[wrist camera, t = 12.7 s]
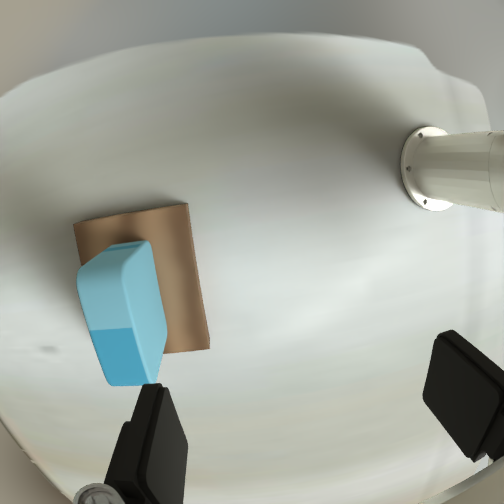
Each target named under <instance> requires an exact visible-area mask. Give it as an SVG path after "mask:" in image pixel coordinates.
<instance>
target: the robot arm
mask: <svg viewBox="0 0 504 504" xmlns="http://www.w3.org/2000/svg"><path fill="white" fill-rule="evenodd" d="M401 174H402V179H403V182H404V185H405V188H406V190H407V192H408V194H409V195H410V197H411V198H412V200H413V201H414V202H415V203H416V204H418V205H419V206H420V207H422V208H424V209H427V210H431V211H441V210H444V209H446V208H448V207H449V206H451V205H452V204H458V205H464V206H469V207H475V208H480V209H485V210H490V211H495V212H500V213H504V130H501V131H486V132H473V133H462V134H451V135H449V134H448V133H447V132H445V131H444V130H442V129H440V128H438V127H433V126H428V127H422V128H419V129H417V130H415V131H414V132H413V133H412V134H411V135H410V136H409V137H408V139H407V140H406V142H405V144H404V147H403V150H402V154H401ZM423 400H424V402H425V404H426V405H427V406H428V407H429V409H430V410H431V411H432V413H433V414H434V415H435V416H436V418H437V419H438V420H439V422H440V423H441V424H442V426H443V427H444V428H445V430H446V431H447V432H448V433H449V435H450V436H451V437H452V439H453V440H454V441H455V443H456V444H457V445H458V447H459V448H460V449H461V451H462V452H463V453H464V455H465V456H466V457H468V458H471V460H472V461H473V462H474V463H475V462H476V461H478V460H480V459H481V458H483V457H484V456H485V455H486V453H487V455H488V456H489V460H488V467H486V468H484V469H483V470H481V471H479V472H478V473H476V474H475V475H473V476H471V477H469V478H468V479H466V480H464V481H462V482H461V483H459V484H457V485H455V486H453V487H451V488H449V489H447V490H445V491H443V492H441V493H439V494H437V495H435V496H433V497H431V498H429V499H427V500H425V501H422V502H420V503H418V504H504V371H503V370H502V369H501V368H500V367H499V366H497V365H496V364H495V363H494V362H493V361H491V360H490V359H489V358H488V357H487V356H485V355H484V354H483V353H482V352H481V351H479V350H478V349H477V348H476V347H474V346H473V345H472V344H471V343H469V342H468V341H467V340H466V339H464V338H463V337H462V336H461V335H459V334H458V333H457V332H456V331H454V330H448V331H445V332H442V333H440V334H438V336H437V338H436V339H435V340H434V344H433V350H432V355H431V360H430V364H429V369H428V373H427V378H426V382H425V386H424V390H423ZM187 453H188V443H187V439H186V436H185V434H184V431H183V429H182V426H181V423H180V421H179V418H178V415H177V412H176V410H175V407H174V404H173V401H172V398H171V395H170V392H169V390H168V388H167V387H163V386H162V384H161V383H152V384H143V386H142V389H141V391H140V394H139V397H138V400H137V403H136V406H135V409H134V412H133V415H132V418H131V421H126V422H125V423H124V424H123V426H122V429H121V432H120V434H119V437H118V440H117V443H116V446H115V449H114V452H113V455H112V459H111V462H110V465H109V468H108V471H107V474H106V478H105V481H104V484H102V483H93V484H89V485H86V486H84V487H83V488H81V489H80V490H79V491H78V492H77V493H76V495H75V497H74V499H73V504H183V497H184V486H185V474H186V464H187Z"/></svg>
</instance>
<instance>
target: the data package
mask: <svg viewBox="0 0 504 504" xmlns="http://www.w3.org/2000/svg"><path fill="white" fill-rule="evenodd" d="M76 285H77V291H78V295H79V299H80V302H81V306H82V310H83V313H84V316H85V320H86V323H87V326H88V329H89V333H90V336H91V339H92V342H93V345H94V348H95V351H96V353H97V356H98V359H99V362H100V365H101V367H102V370H103V373H104V375H105V378H106V380H107V382H108V383H109V384H110V385H111V386H139V385H143V384H152V383H156V380H157V376H158V372H159V367H160V363H161V359H162V355H163V351H164V347H165V343H166V339H167V324H166V319H165V314H164V310H163V305H162V300H161V295H160V290H159V285H158V280H157V275H156V269H155V264H154V258H153V253H152V248H151V245H150V243H149V241H147V240H143V241H136V242H129V243H122V244H115V245H111V246H110V247H108V248H107V249H105V250H104V251H102V252H101V253H100V254H98V255H97V256H96V257H94V258H93V259H91V260H90V261H89V262H87V263H86V264H85V265H83V266H82V267H81V268H80V269H79V270H78V273H77V278H76Z"/></svg>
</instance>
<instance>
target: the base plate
mask: <svg viewBox="0 0 504 504" xmlns="http://www.w3.org/2000/svg"><path fill="white" fill-rule="evenodd" d="M73 225H74V231H75V236H76V241H77V247H78V251H79V256H80V261H81V265H82V266H83V265H85V264H86V263H87V262H89V261H90V260H91V259H93V258H94V257H96V256H97V255H98V254H100V253H101V252H102V251H104V250H105V249H107V248H108V247H110V246H111V245H115V244H122V243H129V242H136V241H143V240H147V241H149V243H150V245H151V248H152V253H153V258H154V264H155V269H156V275H157V280H158V285H159V290H160V295H161V300H162V305H163V310H164V314H165V319H166V324H167V339H166V343H165V347H164V351H163V354H167V353H178V352H187V351H196V350H205V349H210V337H209V332H208V327H207V321H206V316H205V310H204V305H203V299H202V293H201V287H200V281H199V275H198V269H197V263H196V257H195V250H194V244H193V237H192V230H191V223H190V216H189V208H188V203H187V204H180V205H173V206H166V207H160V208H153V209H147V210H141V211H135V212H129V213H123V214H118V215H112V216H106V217H101V218H96V219H90V220H85V221H81V222H79V223H76V224H73Z"/></svg>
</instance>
